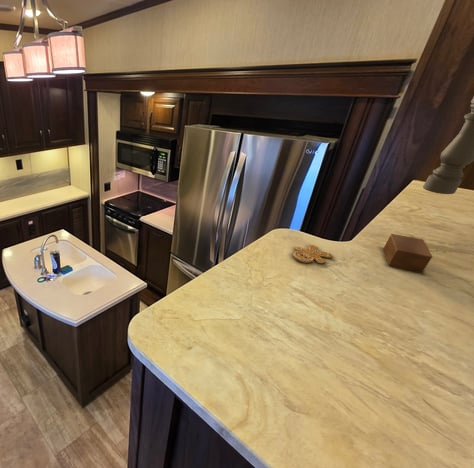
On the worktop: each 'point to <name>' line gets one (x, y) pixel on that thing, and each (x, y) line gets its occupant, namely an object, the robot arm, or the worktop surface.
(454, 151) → the candle holder
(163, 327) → the worktop surface
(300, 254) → the cookie
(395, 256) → the brown wooden block
